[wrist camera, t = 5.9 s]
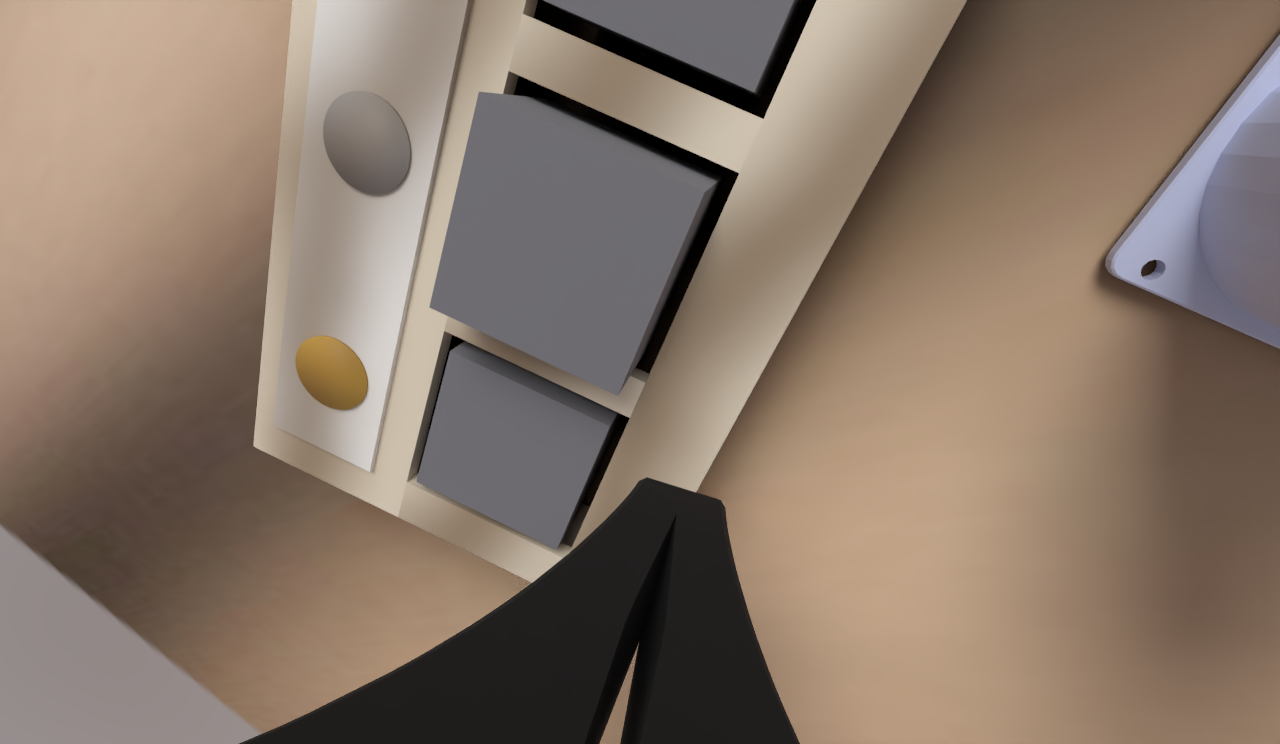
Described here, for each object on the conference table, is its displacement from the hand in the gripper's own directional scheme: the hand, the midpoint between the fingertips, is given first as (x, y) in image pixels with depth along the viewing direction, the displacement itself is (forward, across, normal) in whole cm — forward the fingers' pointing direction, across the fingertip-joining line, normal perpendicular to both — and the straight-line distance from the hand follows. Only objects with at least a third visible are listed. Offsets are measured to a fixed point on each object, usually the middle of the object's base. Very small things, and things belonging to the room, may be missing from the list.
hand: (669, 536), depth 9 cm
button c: (+10, +5, +4) cm, 12 cm away
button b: (+8, +4, -3) cm, 9 cm away
